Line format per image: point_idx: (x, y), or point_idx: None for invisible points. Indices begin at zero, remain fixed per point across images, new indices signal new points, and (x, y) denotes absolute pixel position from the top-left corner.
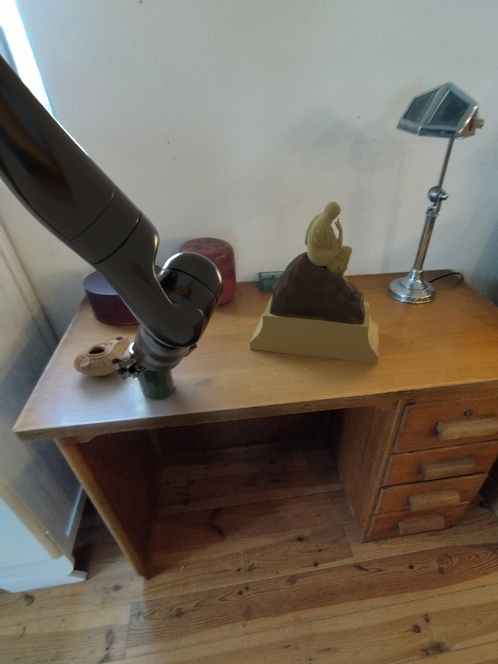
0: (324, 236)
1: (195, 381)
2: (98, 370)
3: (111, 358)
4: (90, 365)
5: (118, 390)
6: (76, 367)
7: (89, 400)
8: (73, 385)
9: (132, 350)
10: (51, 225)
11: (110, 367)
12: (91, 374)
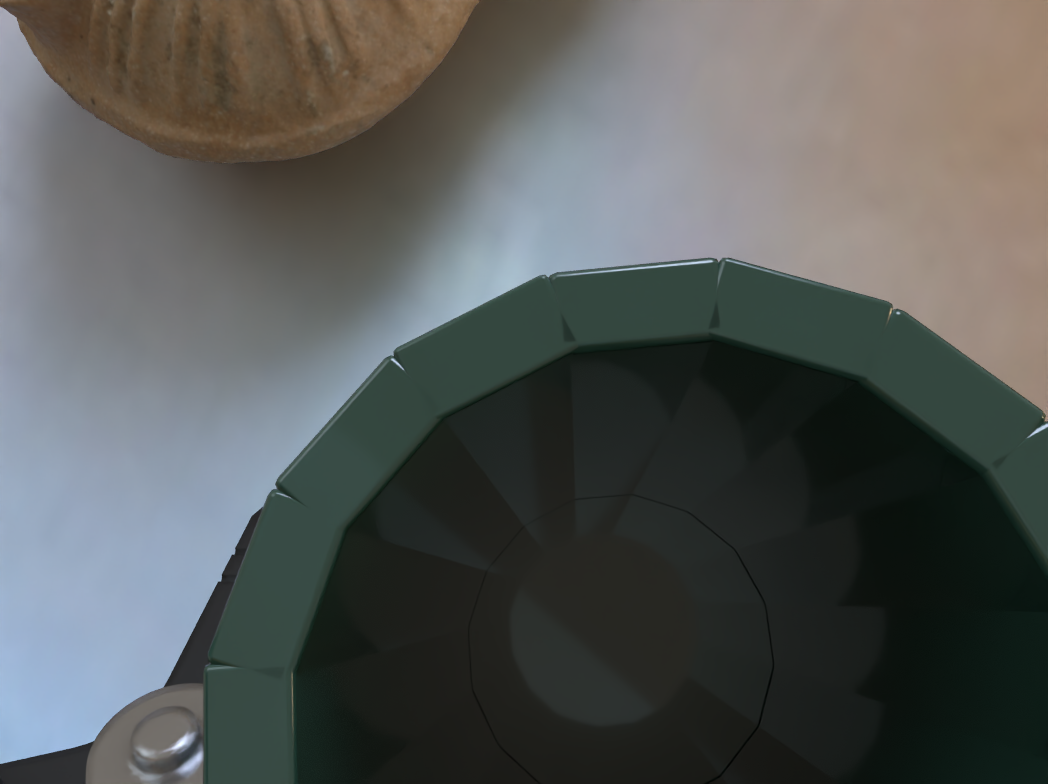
0: None
1: None
2: (141, 109)
3: (320, 14)
4: (76, 8)
5: (282, 381)
6: None
7: (12, 359)
8: (11, 62)
9: (293, 667)
10: None
11: (271, 128)
12: (84, 105)
